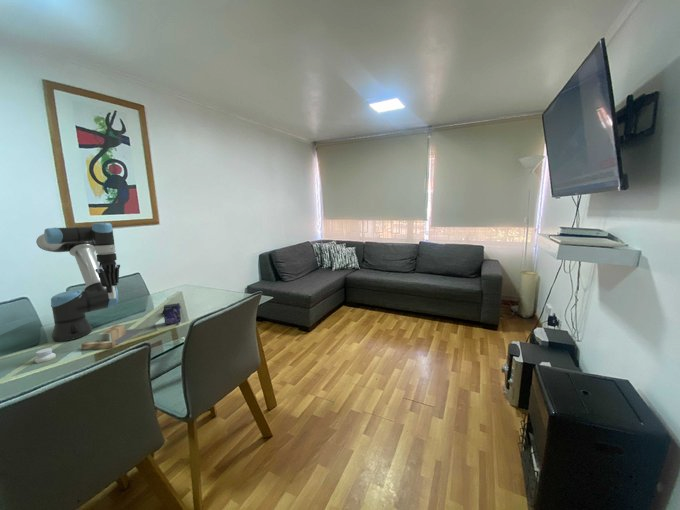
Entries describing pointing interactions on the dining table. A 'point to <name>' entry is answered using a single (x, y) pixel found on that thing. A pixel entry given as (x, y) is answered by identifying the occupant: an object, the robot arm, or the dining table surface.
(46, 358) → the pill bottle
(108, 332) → the block
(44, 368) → the dining table surface
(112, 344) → the strip
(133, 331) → the mat
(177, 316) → the box
